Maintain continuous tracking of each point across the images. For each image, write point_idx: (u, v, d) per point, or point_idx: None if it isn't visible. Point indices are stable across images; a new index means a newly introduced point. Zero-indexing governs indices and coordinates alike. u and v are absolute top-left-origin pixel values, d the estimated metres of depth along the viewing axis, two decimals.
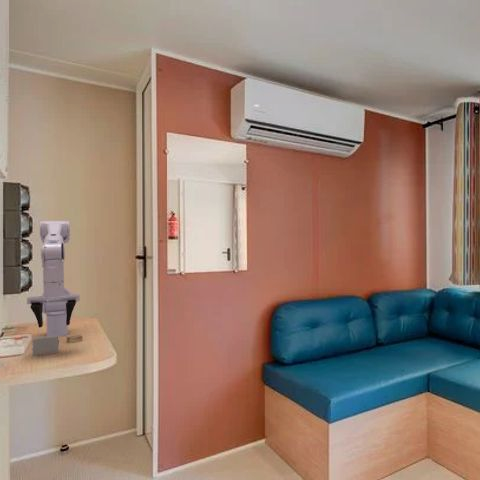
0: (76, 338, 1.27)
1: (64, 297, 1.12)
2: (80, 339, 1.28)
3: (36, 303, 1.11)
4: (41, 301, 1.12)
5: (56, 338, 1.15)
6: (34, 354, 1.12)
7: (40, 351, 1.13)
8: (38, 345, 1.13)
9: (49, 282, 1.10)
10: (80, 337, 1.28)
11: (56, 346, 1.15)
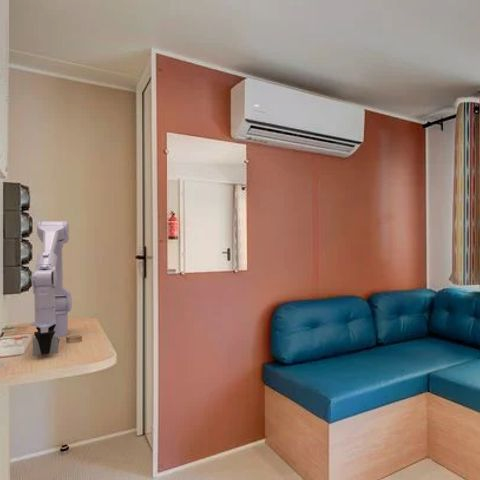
0: (75, 338, 1.27)
1: (37, 325, 1.11)
2: (79, 339, 1.28)
3: None
4: None
5: (56, 338, 1.15)
6: (34, 354, 1.12)
7: None
8: (38, 345, 1.13)
9: None
10: (79, 337, 1.28)
11: (56, 346, 1.15)
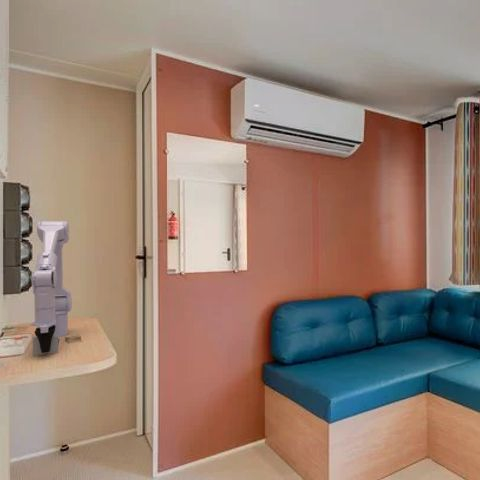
0: (75, 338, 1.27)
1: (37, 325, 1.11)
2: (79, 339, 1.28)
3: None
4: None
5: (56, 338, 1.15)
6: (34, 354, 1.12)
7: (40, 350, 1.13)
8: (38, 345, 1.13)
9: None
10: (79, 337, 1.28)
11: (56, 346, 1.15)
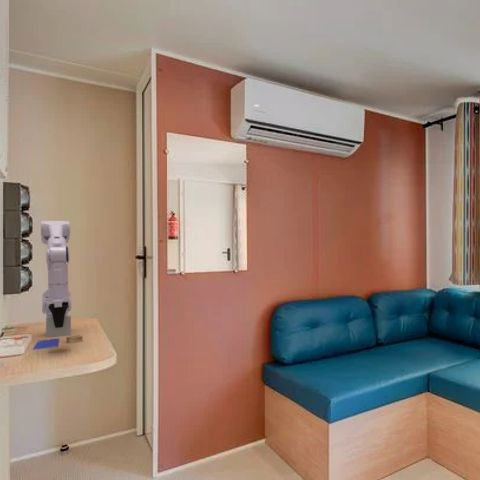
0: (76, 338, 1.27)
1: (51, 300, 1.13)
2: (80, 339, 1.28)
3: None
4: None
5: (69, 318, 1.17)
6: (47, 333, 1.14)
7: (53, 330, 1.15)
8: (51, 324, 1.14)
9: None
10: (80, 337, 1.28)
11: (69, 326, 1.17)
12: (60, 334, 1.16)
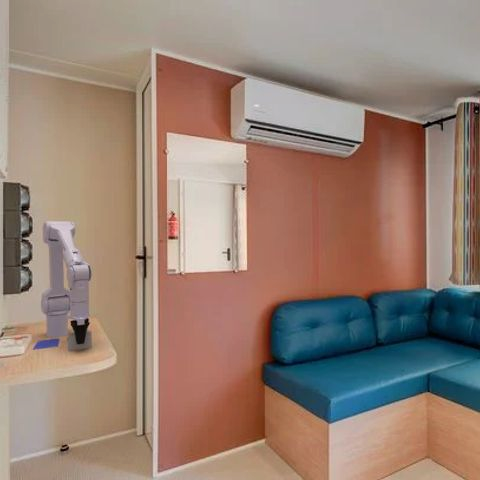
0: None
1: (73, 318, 1.15)
2: None
3: None
4: None
5: (90, 333, 1.19)
6: (69, 349, 1.17)
7: (75, 345, 1.17)
8: (73, 340, 1.17)
9: None
10: None
11: (90, 341, 1.19)
12: None
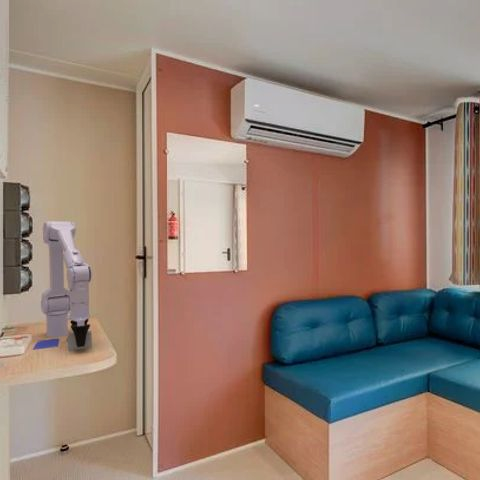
0: None
1: (73, 319, 1.15)
2: None
3: None
4: None
5: (90, 333, 1.19)
6: (69, 349, 1.17)
7: (75, 345, 1.17)
8: (73, 340, 1.17)
9: None
10: None
11: (90, 341, 1.19)
12: None
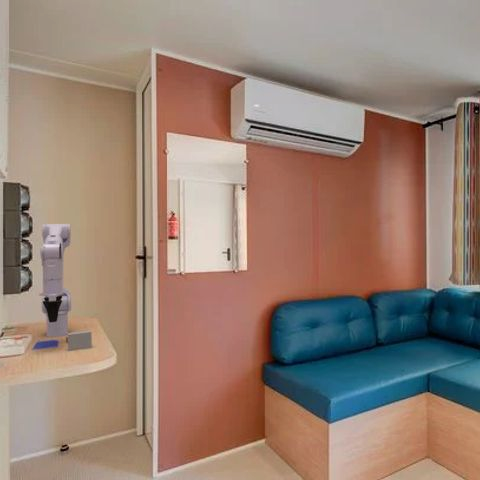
0: None
1: (45, 295, 1.18)
2: None
3: None
4: None
5: (90, 333, 1.19)
6: (69, 349, 1.17)
7: (75, 345, 1.17)
8: (73, 340, 1.17)
9: None
10: None
11: (90, 341, 1.19)
12: None
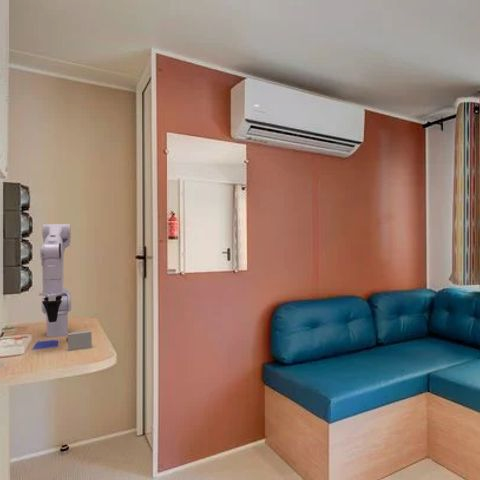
0: None
1: (45, 295, 1.18)
2: None
3: None
4: None
5: (90, 333, 1.19)
6: (69, 349, 1.17)
7: (75, 345, 1.17)
8: (73, 340, 1.17)
9: None
10: None
11: (90, 341, 1.19)
12: None
